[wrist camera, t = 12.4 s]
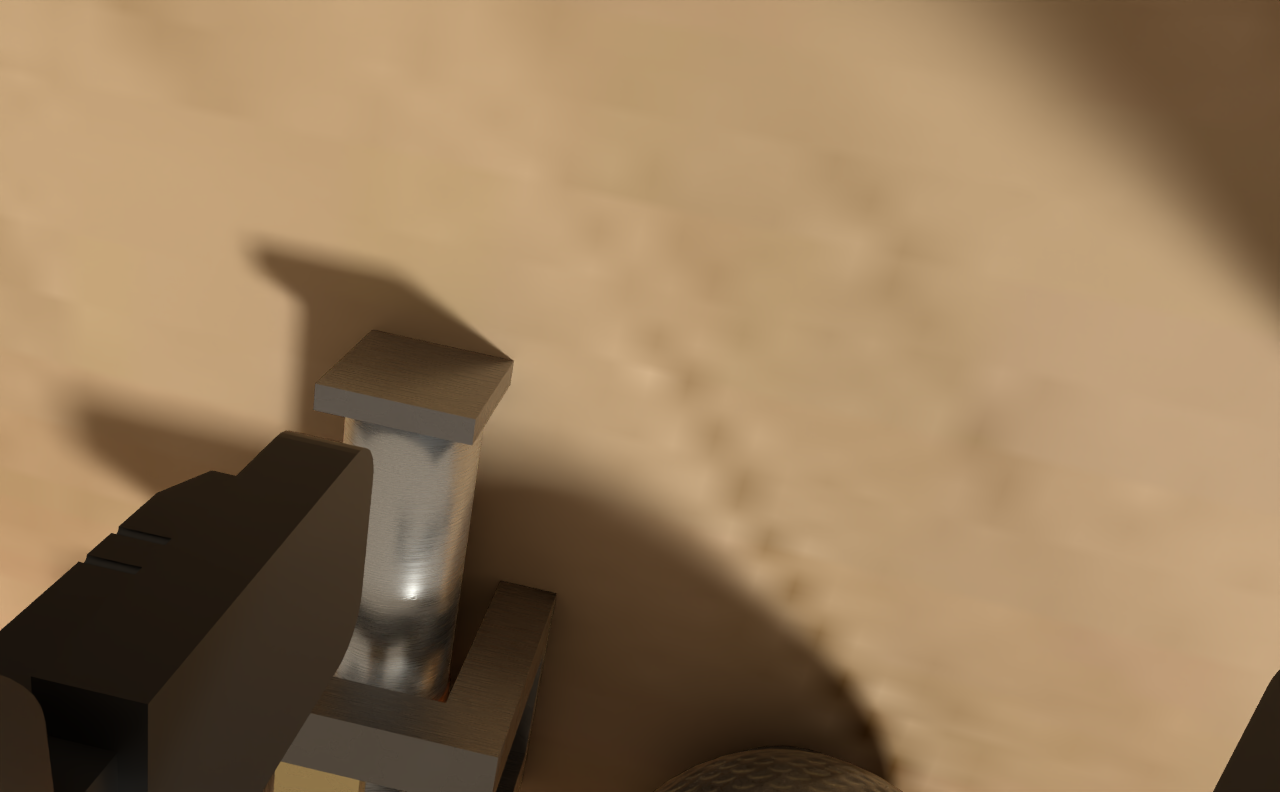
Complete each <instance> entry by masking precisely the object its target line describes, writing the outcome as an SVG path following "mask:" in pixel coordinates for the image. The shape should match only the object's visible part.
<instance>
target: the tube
mask: <svg viewBox="0 0 1280 792" xmlns="http://www.w3.org/2000/svg"><path fill="white" fill-rule="evenodd" d="M513 363H514V361H512V360H508V359H503V358H498V357H494V356H489V355H485V354H480V353H476V352H471V351H467V350H462V349H458V348H453V347H449V346H444V345H439V344H435V343H430V342H426V341H421V340H417V339H412V338H408V337H403V336H399V335H394V334H390V333H385V332H380V331H376V330H372V331H371V332H370V333H369V334H368V335H366V336H365V337H364V338H363V339H362V340H361V341H360V342H359V343H358V344H357V345H356V346H355V347H354V348H353V349H352V350H350V351H349V352H348V353H347V354H346V355H345V356H344V357H343V358H342V359H341V360H340V361H339V362H338V363H337V364H336V365H335V366H333V367H332V368H331V369H330V370H329V371H328V372H327V373H326V374H325V375H324V376H323V377H322V378H321V379H320V380H319V381H318V382H316V383H315V395H314V409H313V410H316V411H320V412H325V413H329V414H333V415H338V416H342V417H345V425H344V437H343V443H346V444H350V445H355V446H359V447H363V448H367V449H369V450H370V451H371V453H372V457H373V464H374V473H373V486H372V496H371V506H370V516H369V527H368V537H367V547H366V557H365V567H364V578H363V588H362V597H361V603H360V609H359V613H358V618H357V622H356V625H355V629H354V632H353V635H352V638H351V641H350V644H349V647H348V649H347V651H346V654H345V656H344V658H343V660H342V662H341V664H340V666H339V668H338V669H337V671H336V673H335V674H334V676H333V677H338V678H342V679H346V680H350V681H355V682H359V683H363V684H367V685H372V686H376V687H380V688H384V689H389V690H393V691H397V692H401V693H406V694H410V695H414V696H418V697H423V698H427V699H431V700H435V701H440V702H444V703H446V701H447V699H448V695H449V688H450V681H451V678H450V672H449V670H450V663H451V656H452V649H453V642H454V635H455V628H456V620H457V613H458V606H459V599H460V592H461V585H462V577H463V570H464V563H465V556H466V549H467V542H468V534H469V527H470V520H471V513H472V506H473V499H474V492H475V484H476V477H477V470H478V463H479V456H480V449H481V441H482V434H483V427H484V426H485V424H486V423H487V421H488V419H489V418H490V416H491V415H492V413H493V411H494V410H495V408H496V407H497V405H498V403H499V402H500V400H501V399H502V397H503V395H504V394H505V392H506V391H507V389H508V387H509V386H510V383H511V377H512V370H513ZM365 792H406V791H402V790H398V789H393V788H389V787H385V786H381V785H377V784H373V783H368V782H366V784H365Z"/></svg>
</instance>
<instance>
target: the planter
mask: <svg viewBox="0 0 1280 792" xmlns="http://www.w3.org/2000/svg"><path fill="white" fill-rule="evenodd" d="M654 792H903V791H901V790H900V789H898V788H896V787H895V786H893V785H892V784H890V783H889V782H887V781H885V780H884V779H882V778H881V777H879V776H877V775H876V774H874V773H871V772H869V771H867V770H865V769H863V768H860V767H858V766H856V765H854V764H852V763H849V762H847V761H843V760H840V759H837V758H834V757H830V756H828V755H825V754H822V753H819V752H816V751H812V750H809V749H803V748H797V747H786V746H771V747H760V748H755V749H750V750H746V751H742V752H739V753H734V754H729V755H724V756H721V757H718V758H715V759H713V760H710V761H707V762H704V763H702V764H699V765H696V766H694V767H692V768H690V769H688V770H687V771H685V772H683V773H681V774H679V775H677V776H675V777H674V778H672V779H670V780H668V781H667V782H666V783H664V784H663V785H662V786H660V787H659V788H658V789H656V790H655V791H654Z"/></svg>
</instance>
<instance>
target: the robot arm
mask: <svg viewBox="0 0 1280 792" xmlns="http://www.w3.org/2000/svg"><path fill="white" fill-rule="evenodd" d="M373 473H374V464H373V457H372V453H371V451H370V450H369V449H367V448H363V447H359V446H355V445H350V444H346V443H341V442H337V441H332V440H328V439H324V438H319V437H315V436H310V435H306V434H302V433H297V432H293V431H284V432H282V433H280V434H279V435H278V436H277V437H276V438H275V439H274V440H273V441H272V442H271V443H270V444H269V445H267V446H266V447H265V448H264V449H263V450H262V451H261V452H260V453H259V454H258V455H257V456H256V457H255V458H254V459H253V460H252V461H251V462H250V463H249V464H248V465H247V466H246V467H245V468H244V469H243V470H242V471H241V472H240V473H239V474H238V475H237V476H233V475H229V474H224V473H220V472H216V471H209V472H207V473H205V474H202V475H200V476H197V477H195V478H192V479H190V480H188V481H185V482H183V483H180V484H178V485H175V486H173V487H171V488H168V489H166V490H163V491H161V492H158V493H156V494H155V495H154V496H153V497H152V498H151V499H150V500H148V501H147V502H146V503H145V504H144V505H143V506H142V507H140V508H139V509H138V510H137V511H136V512H135V513H134V514H132V515H131V516H130V517H129V518H128V519H127V520H126V521H125V522H123V523H122V524H121V525H120V526H119V530H118V532H117V534H113V533H111V534H110V535H109V536H107V537H106V538H105V539H104V540H103V541H102V542H101V543H100V544H98V545H97V546H96V547H95V548H94V549H93V550H92V551H90V552H89V553H88V554H87V558H86V561H85V562H84V563H81V562H78V563H77V564H76V565H74V566H73V567H72V568H71V569H70V570H69V571H68V572H67V573H65V574H64V575H63V576H62V577H61V578H60V579H59V580H57V581H56V582H55V583H54V584H53V585H52V586H51V587H49V588H48V589H47V590H46V591H45V592H44V593H43V594H41V595H40V596H39V597H38V598H37V599H36V600H35V601H34V602H32V603H31V604H30V605H29V606H28V607H27V608H26V609H24V610H23V611H22V612H21V613H20V614H19V615H18V616H16V617H15V618H14V619H13V620H12V621H11V622H10V623H8V624H7V625H6V626H5V627H4V628H3V629H2V630H1V631H0V792H262V791H263V789H264V788H265V786H266V784H267V783H268V781H269V780H270V778H271V776H272V775H273V773H274V772H275V770H276V768H277V767H278V765H279V763H280V762H281V760H282V759H283V757H284V755H285V754H286V752H287V750H288V749H289V747H290V746H291V744H292V742H293V741H294V739H295V737H296V736H297V734H298V733H299V731H300V729H301V728H302V726H303V725H304V723H305V721H306V720H307V718H308V716H309V715H310V713H311V712H312V710H313V708H314V707H315V705H316V703H317V702H318V700H319V699H320V697H321V695H322V694H323V692H324V690H325V689H326V687H327V686H328V684H329V682H330V681H331V679H332V677H333V676H334V674H335V673H336V671H337V669H338V668H339V666H340V664H341V662H342V660H343V658H344V656H345V654H346V651H347V649H348V647H349V644H350V641H351V638H352V635H353V632H354V629H355V625H356V622H357V618H358V613H359V609H360V603H361V597H362V588H363V578H364V567H365V557H366V547H367V537H368V527H369V516H370V506H371V496H372V486H373ZM1213 792H1280V670H1279V671H1278V672H1277V673H1276V674H1275V676H1274V677H1273V678H1272V680H1271V682H1270V683H1269V685H1268V687H1267V689H1266V691H1265V692H1264V694H1263V696H1262V698H1261V700H1260V702H1259V704H1258V706H1257V708H1256V710H1255V712H1254V714H1253V716H1252V718H1251V719H1250V721H1249V723H1248V725H1247V727H1246V729H1245V731H1244V733H1243V735H1242V737H1241V739H1240V741H1239V743H1238V745H1237V746H1236V748H1235V750H1234V752H1233V754H1232V756H1231V758H1230V760H1229V762H1228V764H1227V766H1226V768H1225V770H1224V772H1223V774H1222V775H1221V777H1220V779H1219V781H1218V783H1217V785H1216V787H1215V789H1214V791H1213Z"/></svg>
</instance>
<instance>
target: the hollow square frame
mask: <svg viewBox="0 0 1280 792" xmlns="http://www.w3.org/2000/svg"><path fill="white" fill-rule="evenodd" d="M555 599H556V593H552V592H547V591H543V590H538V589H534V588H530V587H525V586H521V585H517V584H512V583H508V582H504V581H500V583H499V585H498V588H497V590H496V592H495V594H494V597H493V599H492V601H491V603H490V605H489V608H488V610H487V612H486V614H485V617H484V619H483V621H482V623H481V626H480V628H479V630H478V632H477V634H476V637H475V639H474V641H473V643H472V646H471V648H470V650H469V652H468V655H467V657H466V659H465V661H464V664H463V666H462V668H461V670H460V672H459V675H458V677H457V679H456V681H455V684H454V686H453V688H452V690H451V693H450V695H449V697H448V699H447V701H446V703H444V702H440V701H435V700H431V699H427V698H423V697H418V696H414V695H410V694H406V693H401V692H397V691H393V690H389V689H384V688H380V687H376V686H372V685H367V684H363V683H359V682H355V681H350V680H346V679H342V678H338V677H332V679H331V681H330V682H329V684H328V686H327V687H326V689H325V690H324V692H323V694H322V695H321V697H320V699H319V700H318V702H317V703H316V705H315V707H314V708H313V710H312V712H311V713H310V715H309V716H308V718H307V720H306V721H305V723H304V725H303V726H302V728H301V729H300V731H299V733H298V734H297V736H296V737H295V739H294V741H293V742H292V744H291V746H290V747H289V749H288V750H287V752H286V754H285V755H284V757H283V759H282V760H281V762H280V763H279V765H278V767H277V768H276V770H275V772H274V773H273V775H272V776H271V778H270V780H269V781H268V783H267V784H266V786H265V788H264V789H263V791H262V792H365V784H366V782H368V783H373V784H377V785H381V786H385V787H389V788H393V789H398V790H402V791H406V792H519V790H520V786H521V783H522V778H523V773H524V767H525V762H526V757H527V751H528V746H529V740H530V735H531V729H532V724H533V718H534V713H535V708H536V702H537V697H538V691H539V686H540V680H541V675H542V669H543V664H544V659H545V653H546V648H547V642H548V637H549V631H550V626H551V620H552V615H553V610H554V604H555Z"/></svg>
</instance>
